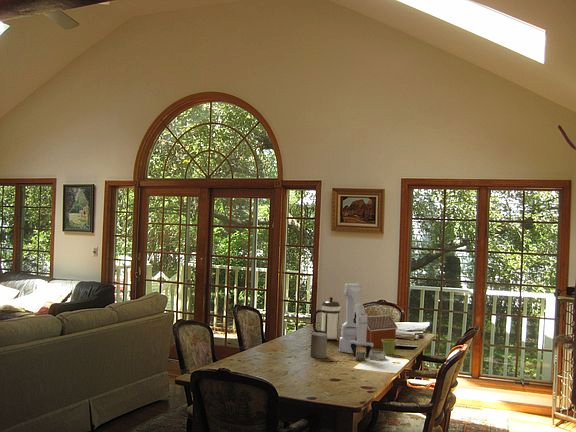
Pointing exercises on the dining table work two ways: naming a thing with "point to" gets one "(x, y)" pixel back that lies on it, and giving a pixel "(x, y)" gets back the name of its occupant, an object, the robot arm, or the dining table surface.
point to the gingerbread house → (380, 330)
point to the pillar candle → (318, 345)
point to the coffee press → (329, 319)
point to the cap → (361, 356)
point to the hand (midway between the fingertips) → (360, 357)
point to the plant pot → (388, 346)
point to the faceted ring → (376, 355)
